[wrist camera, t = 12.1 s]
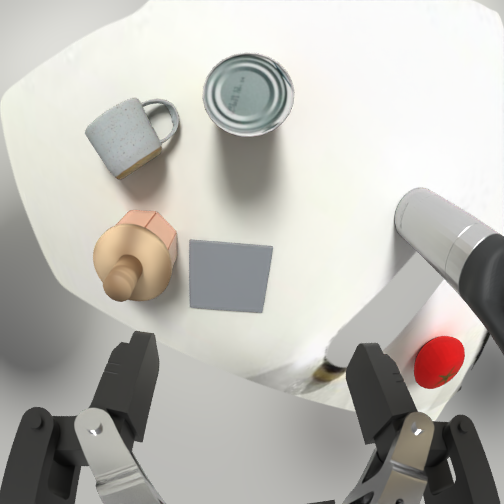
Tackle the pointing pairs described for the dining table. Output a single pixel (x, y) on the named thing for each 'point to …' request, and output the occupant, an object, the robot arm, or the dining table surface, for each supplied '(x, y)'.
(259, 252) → the mat
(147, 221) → the bowl
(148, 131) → the ceramic mug
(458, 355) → the tomato
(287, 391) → the dining table surface
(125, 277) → the lid
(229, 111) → the canned food
